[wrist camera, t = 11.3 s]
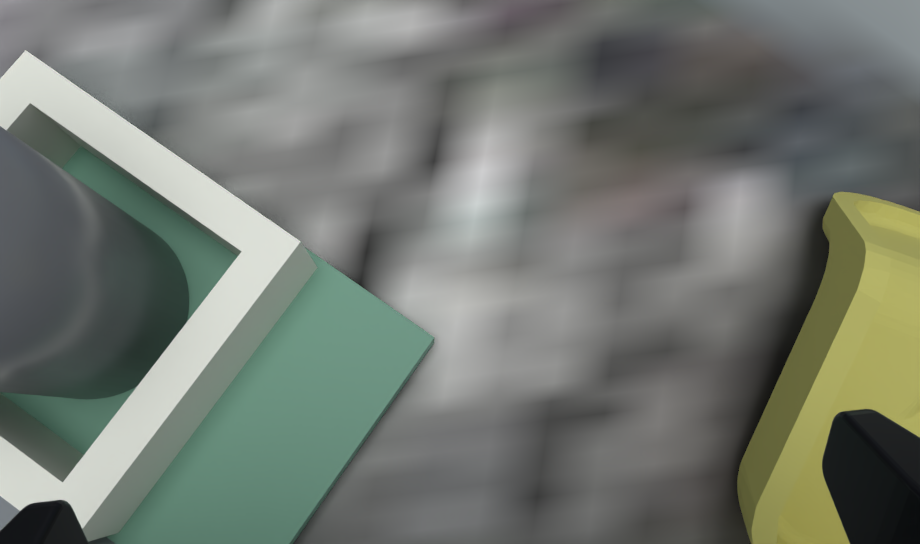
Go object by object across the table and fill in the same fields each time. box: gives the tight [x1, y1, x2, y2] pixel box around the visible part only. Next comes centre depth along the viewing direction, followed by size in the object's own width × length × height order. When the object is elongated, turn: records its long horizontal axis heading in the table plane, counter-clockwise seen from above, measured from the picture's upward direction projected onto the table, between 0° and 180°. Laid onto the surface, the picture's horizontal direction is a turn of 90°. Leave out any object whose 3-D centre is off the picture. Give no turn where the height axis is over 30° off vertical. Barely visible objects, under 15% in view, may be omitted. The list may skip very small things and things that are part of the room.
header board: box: [0, 50, 434, 544], centre depth 21 cm, size 16×14×4 cm
